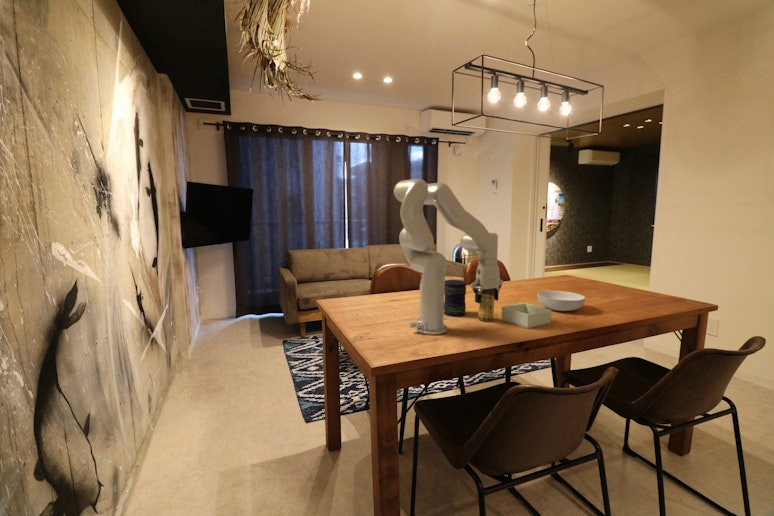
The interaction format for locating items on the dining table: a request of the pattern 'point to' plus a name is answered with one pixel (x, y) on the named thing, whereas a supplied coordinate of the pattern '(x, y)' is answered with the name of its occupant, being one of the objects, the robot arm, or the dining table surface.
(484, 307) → the sauce bottle
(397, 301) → the dining table surface
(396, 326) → the dining table surface
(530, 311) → the bin
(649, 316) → the dining table surface
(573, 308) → the serving bowl
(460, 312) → the rusty oil drum
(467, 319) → the dining table surface
